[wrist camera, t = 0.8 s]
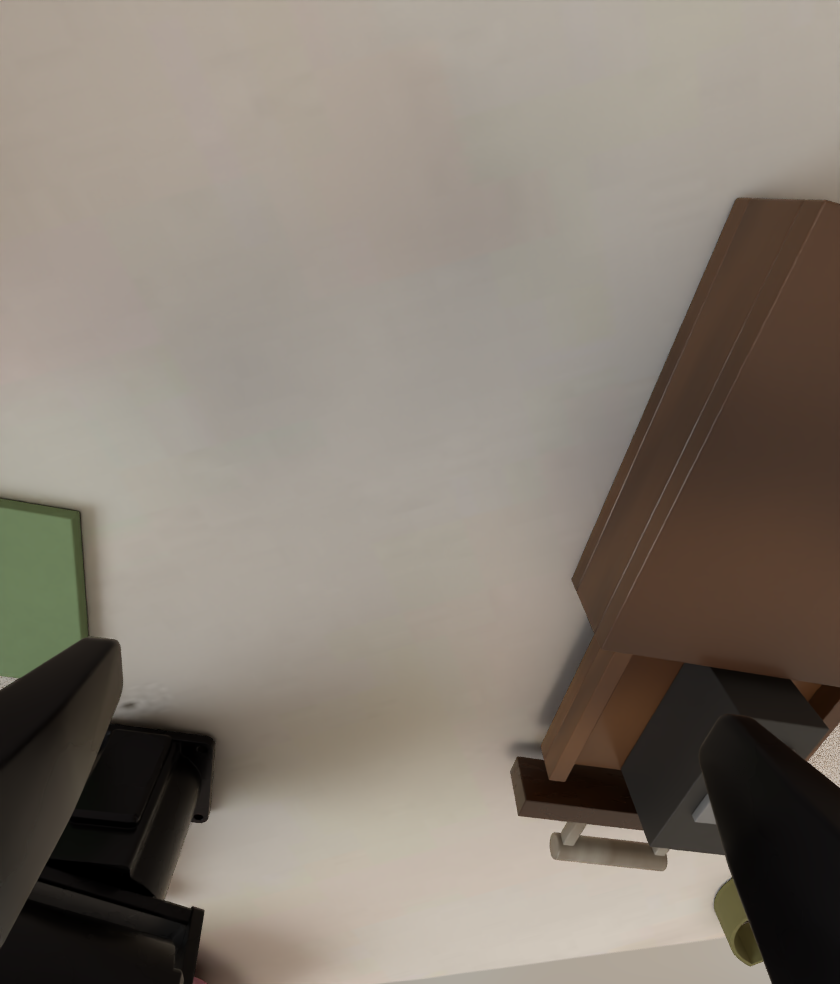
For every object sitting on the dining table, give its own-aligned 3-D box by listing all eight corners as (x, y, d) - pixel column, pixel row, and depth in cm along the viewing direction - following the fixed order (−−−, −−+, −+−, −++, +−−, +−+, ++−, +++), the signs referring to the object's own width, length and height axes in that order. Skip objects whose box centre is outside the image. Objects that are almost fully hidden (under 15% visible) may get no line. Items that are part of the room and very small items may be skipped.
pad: (91, 677, 26) (85, 687, 25) (-50, 658, 25) (-60, 668, 24) (80, 511, 22) (71, 519, 21) (-91, 482, 21) (-103, 490, 20)
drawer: (699, 844, 31) (720, 889, 29) (487, 819, 30) (493, 865, 28) (888, 602, 23) (934, 641, 21) (610, 552, 22) (631, 588, 20)
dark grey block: (688, 777, 27) (729, 863, 23) (619, 768, 26) (651, 854, 23) (772, 655, 23) (836, 736, 20) (695, 643, 23) (746, 723, 19)
